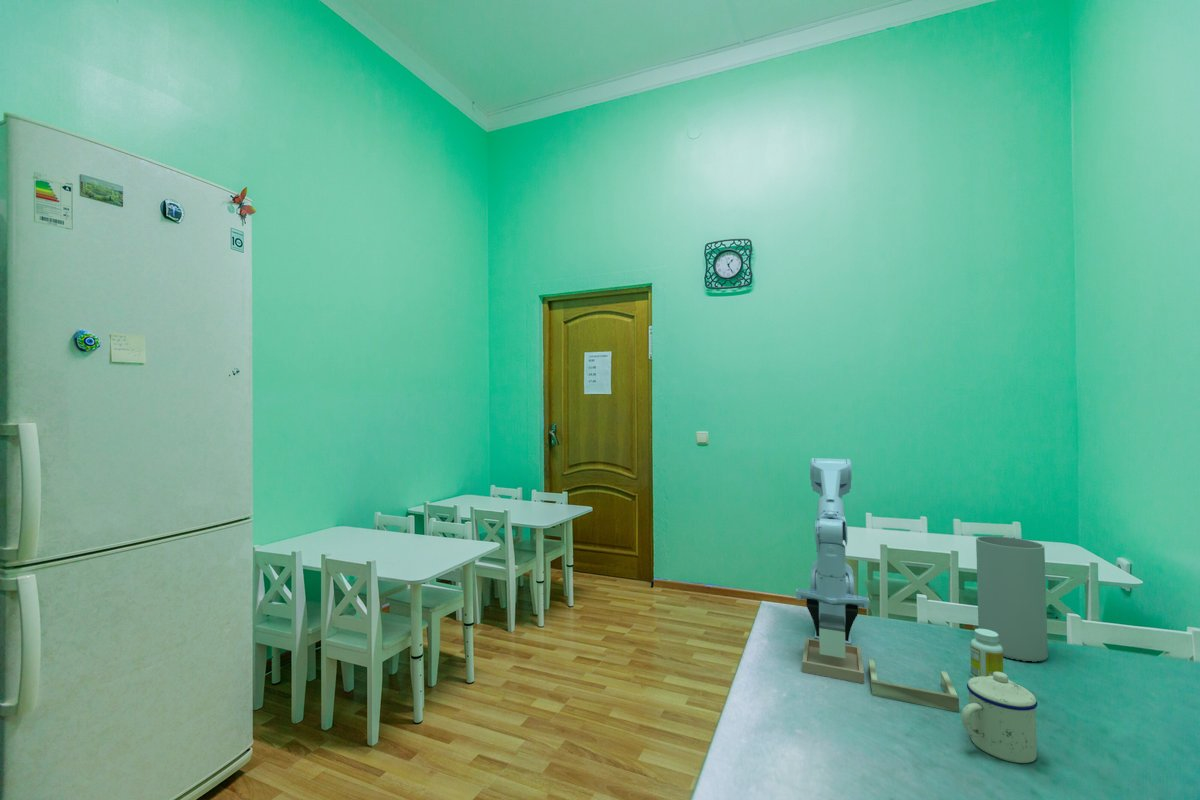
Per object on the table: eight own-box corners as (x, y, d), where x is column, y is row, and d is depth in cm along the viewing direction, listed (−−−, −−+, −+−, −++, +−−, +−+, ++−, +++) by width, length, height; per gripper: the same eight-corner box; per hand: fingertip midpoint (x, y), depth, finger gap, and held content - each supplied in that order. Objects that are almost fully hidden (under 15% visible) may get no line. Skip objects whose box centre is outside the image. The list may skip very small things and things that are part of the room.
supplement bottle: (967, 678, 106) (966, 631, 107) (975, 670, 110) (974, 624, 110) (999, 689, 102) (998, 639, 103) (1007, 680, 106) (1005, 633, 106)
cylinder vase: (1051, 668, 111) (1048, 551, 112) (979, 653, 118) (976, 543, 119) (1044, 648, 121) (1040, 540, 122) (978, 635, 128) (975, 534, 129)
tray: (805, 646, 121) (805, 637, 121) (860, 656, 116) (860, 646, 116) (802, 672, 109) (802, 661, 109) (864, 683, 104) (864, 673, 104)
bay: (868, 670, 110) (868, 658, 110) (946, 684, 104) (946, 671, 104) (872, 695, 100) (872, 681, 100) (959, 712, 94) (958, 698, 94)
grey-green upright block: (820, 639, 117) (820, 612, 117) (844, 643, 115) (844, 616, 115) (819, 653, 110) (819, 625, 110) (845, 658, 108) (845, 629, 108)
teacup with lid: (998, 727, 89) (996, 658, 90) (1054, 761, 80) (1052, 684, 81) (940, 735, 87) (938, 665, 87) (991, 771, 78) (989, 692, 78)
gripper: (795, 574, 113) (795, 637, 112) (869, 583, 107) (870, 650, 106) (797, 566, 119) (797, 626, 118) (867, 574, 113) (868, 637, 112)
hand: (832, 636), depth 113 cm, fingers closed on grey-green upright block, 5 cm apart
